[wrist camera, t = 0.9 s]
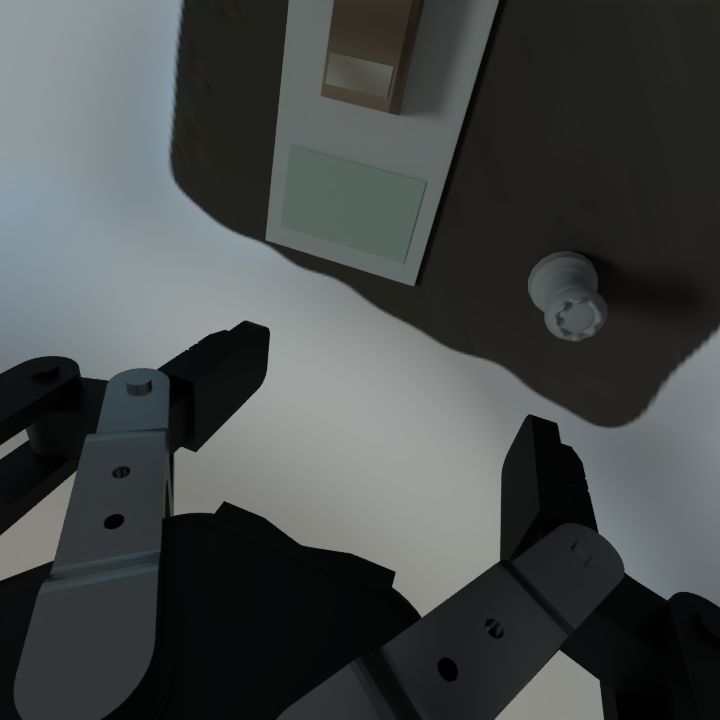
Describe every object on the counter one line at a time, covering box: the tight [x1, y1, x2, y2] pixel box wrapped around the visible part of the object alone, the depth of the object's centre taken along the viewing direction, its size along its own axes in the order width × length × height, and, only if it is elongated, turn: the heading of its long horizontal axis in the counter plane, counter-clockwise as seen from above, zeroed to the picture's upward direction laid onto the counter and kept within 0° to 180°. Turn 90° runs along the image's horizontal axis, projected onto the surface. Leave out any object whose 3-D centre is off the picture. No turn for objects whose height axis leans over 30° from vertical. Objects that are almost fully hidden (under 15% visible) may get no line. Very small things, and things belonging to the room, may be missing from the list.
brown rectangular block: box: [321, 0, 425, 116], centre depth 25 cm, size 9×4×3 cm, turn 167°
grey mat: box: [266, 0, 499, 286], centre depth 29 cm, size 21×13×1 cm, turn 167°
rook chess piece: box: [528, 251, 607, 341], centre depth 27 cm, size 4×4×8 cm
